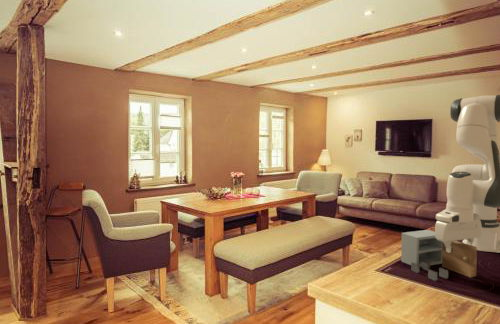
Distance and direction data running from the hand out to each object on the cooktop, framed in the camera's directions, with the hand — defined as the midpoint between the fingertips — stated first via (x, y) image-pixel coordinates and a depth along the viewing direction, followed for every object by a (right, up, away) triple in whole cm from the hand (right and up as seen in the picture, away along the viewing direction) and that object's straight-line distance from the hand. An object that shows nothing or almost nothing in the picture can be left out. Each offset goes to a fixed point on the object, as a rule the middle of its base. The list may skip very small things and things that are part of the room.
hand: (458, 250), depth 130 cm
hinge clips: (-13, -8, -2) cm, 15 cm away
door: (0, -8, +1) cm, 8 cm away
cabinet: (-9, -8, +11) cm, 16 cm away
